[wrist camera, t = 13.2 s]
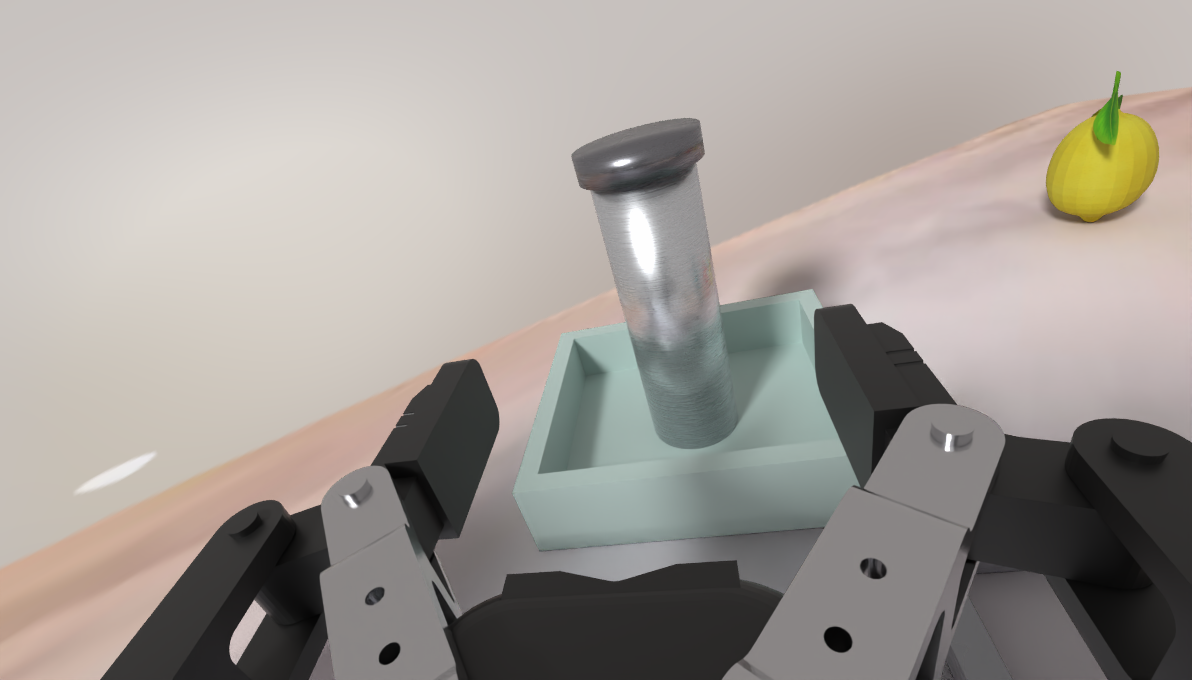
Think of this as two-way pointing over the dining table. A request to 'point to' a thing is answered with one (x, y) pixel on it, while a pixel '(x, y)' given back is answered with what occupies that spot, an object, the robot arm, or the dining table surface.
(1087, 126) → the lemon
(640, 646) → the robot arm
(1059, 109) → the dining table surface
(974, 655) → the gray square frame
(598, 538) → the bin
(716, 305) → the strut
